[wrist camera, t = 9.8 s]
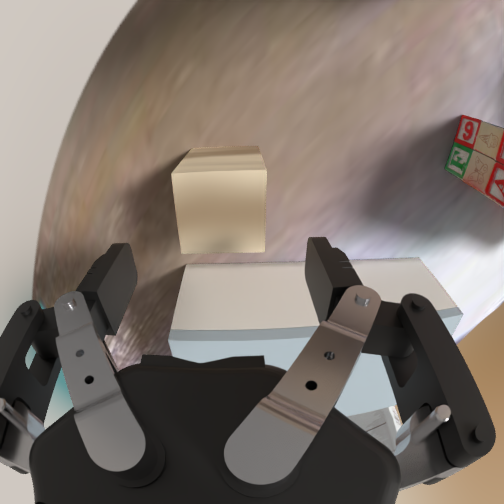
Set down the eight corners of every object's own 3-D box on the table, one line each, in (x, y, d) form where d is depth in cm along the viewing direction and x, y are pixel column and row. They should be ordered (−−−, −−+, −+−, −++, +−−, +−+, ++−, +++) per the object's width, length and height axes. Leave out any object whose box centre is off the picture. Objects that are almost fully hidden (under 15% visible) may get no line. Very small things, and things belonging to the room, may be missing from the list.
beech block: (191, 148, 20) (171, 173, 14) (258, 146, 20) (266, 170, 14) (196, 207, 22) (181, 253, 17) (257, 206, 23) (264, 252, 17)
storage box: (186, 264, 25) (170, 329, 19) (418, 257, 26) (457, 306, 19) (203, 356, 33) (198, 412, 26) (383, 343, 34) (403, 390, 27)
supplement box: (342, 407, 44) (360, 486, 30) (322, 393, 40) (341, 487, 26) (388, 385, 41) (415, 465, 27) (376, 368, 37) (407, 463, 23)
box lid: (170, 330, 18) (168, 340, 18) (457, 307, 19) (463, 314, 18) (198, 418, 25) (197, 426, 24) (405, 395, 26) (408, 401, 25)
